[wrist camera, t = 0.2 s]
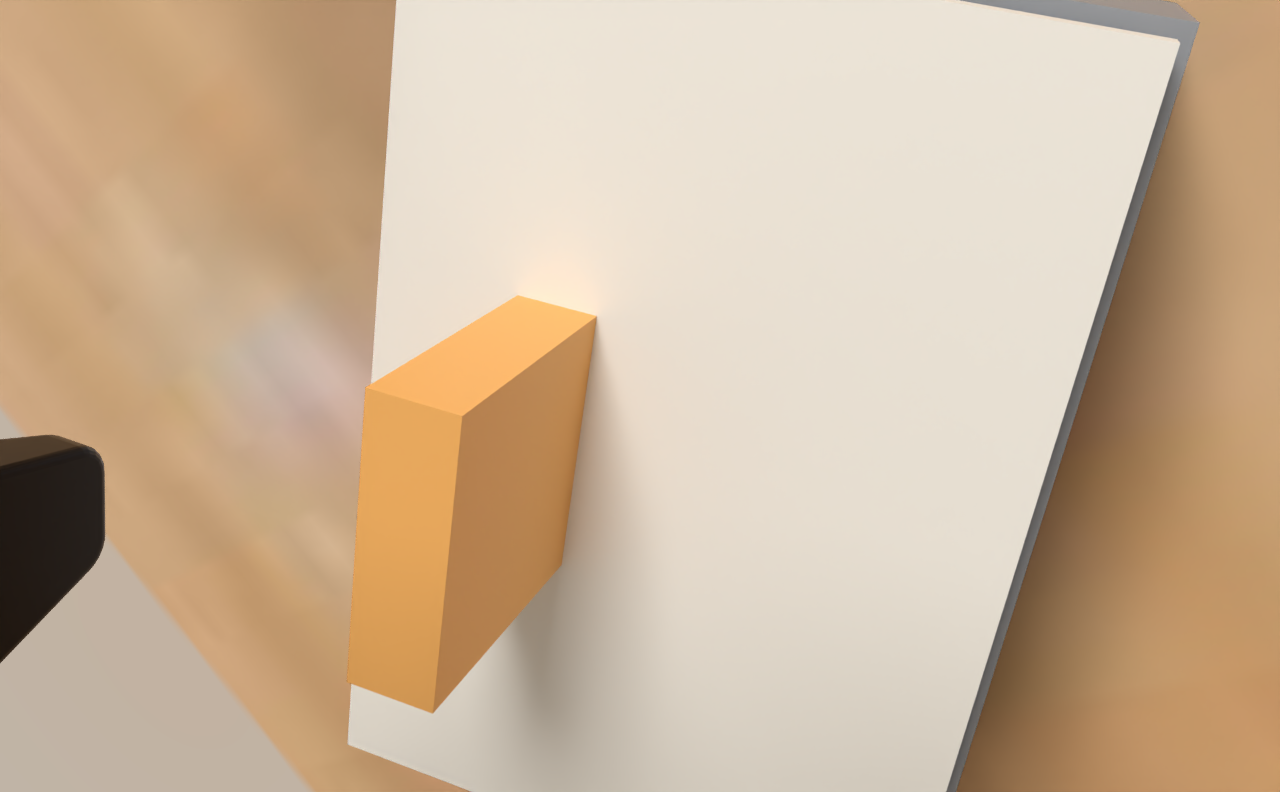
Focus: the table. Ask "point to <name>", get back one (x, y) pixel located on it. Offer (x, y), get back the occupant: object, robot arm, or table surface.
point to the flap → (721, 378)
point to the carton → (1139, 9)
